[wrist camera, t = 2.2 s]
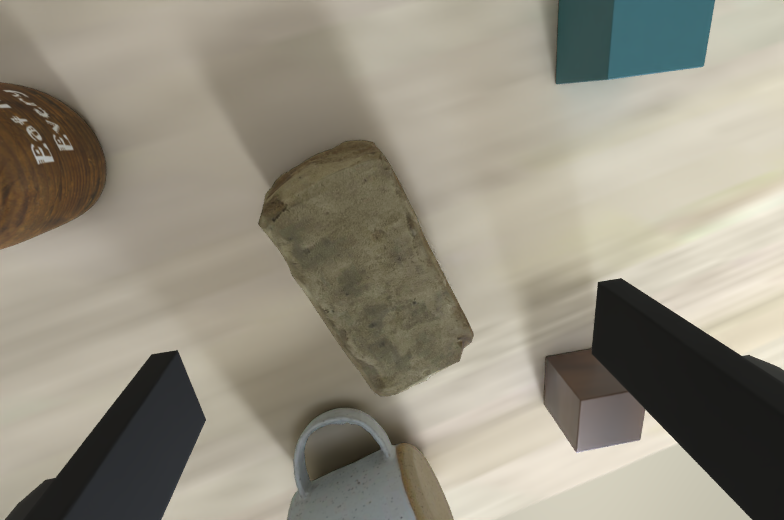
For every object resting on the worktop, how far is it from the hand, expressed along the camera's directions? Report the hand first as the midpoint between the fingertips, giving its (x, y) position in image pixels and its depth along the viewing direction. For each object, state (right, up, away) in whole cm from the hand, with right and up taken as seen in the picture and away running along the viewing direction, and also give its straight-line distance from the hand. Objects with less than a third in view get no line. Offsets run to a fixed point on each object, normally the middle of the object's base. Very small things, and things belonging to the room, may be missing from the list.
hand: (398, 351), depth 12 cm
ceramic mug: (-2, -11, +14) cm, 18 cm away
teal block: (+9, +13, +6) cm, 17 cm away
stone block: (-1, +3, +9) cm, 9 cm away
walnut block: (+12, -5, +13) cm, 18 cm away
